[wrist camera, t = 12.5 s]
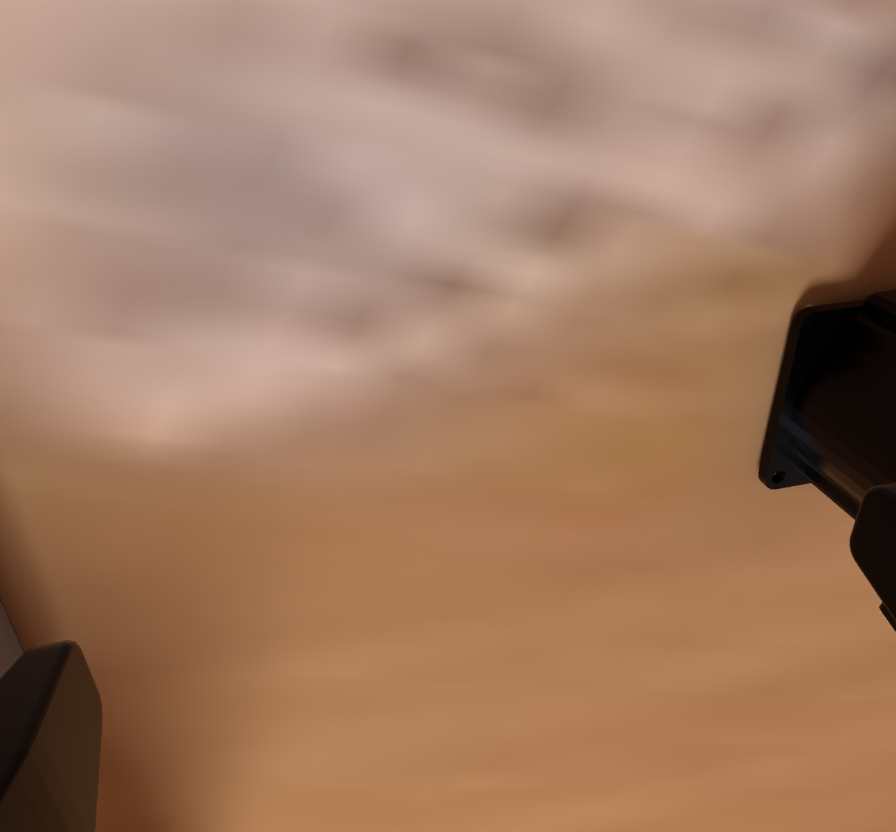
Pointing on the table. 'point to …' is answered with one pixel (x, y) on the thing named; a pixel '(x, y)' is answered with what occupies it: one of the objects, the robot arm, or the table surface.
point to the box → (7, 643)
